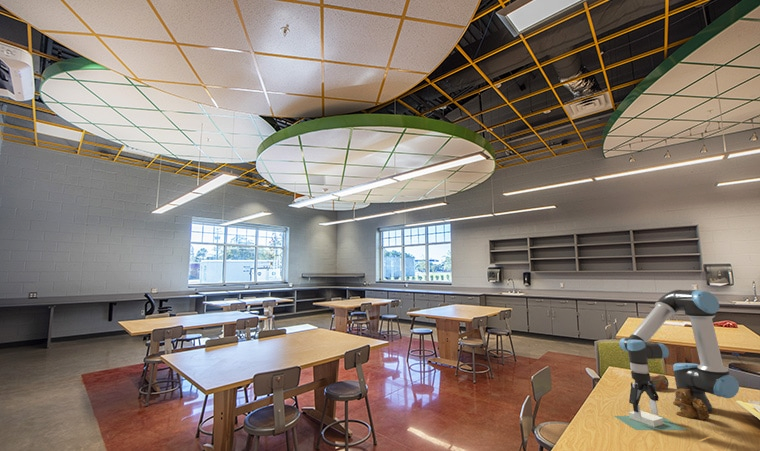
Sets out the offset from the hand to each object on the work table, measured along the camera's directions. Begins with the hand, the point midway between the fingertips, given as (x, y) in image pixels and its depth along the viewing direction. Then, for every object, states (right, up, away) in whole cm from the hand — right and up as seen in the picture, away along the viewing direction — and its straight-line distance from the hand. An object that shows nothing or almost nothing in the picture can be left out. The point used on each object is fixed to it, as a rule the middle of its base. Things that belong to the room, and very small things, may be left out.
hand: (646, 416), depth 160 cm
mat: (0, -3, -2) cm, 3 cm away
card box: (-2, -2, +5) cm, 6 cm away
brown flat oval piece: (+47, -11, +47) cm, 67 cm away
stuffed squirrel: (+29, -4, +5) cm, 30 cm away
